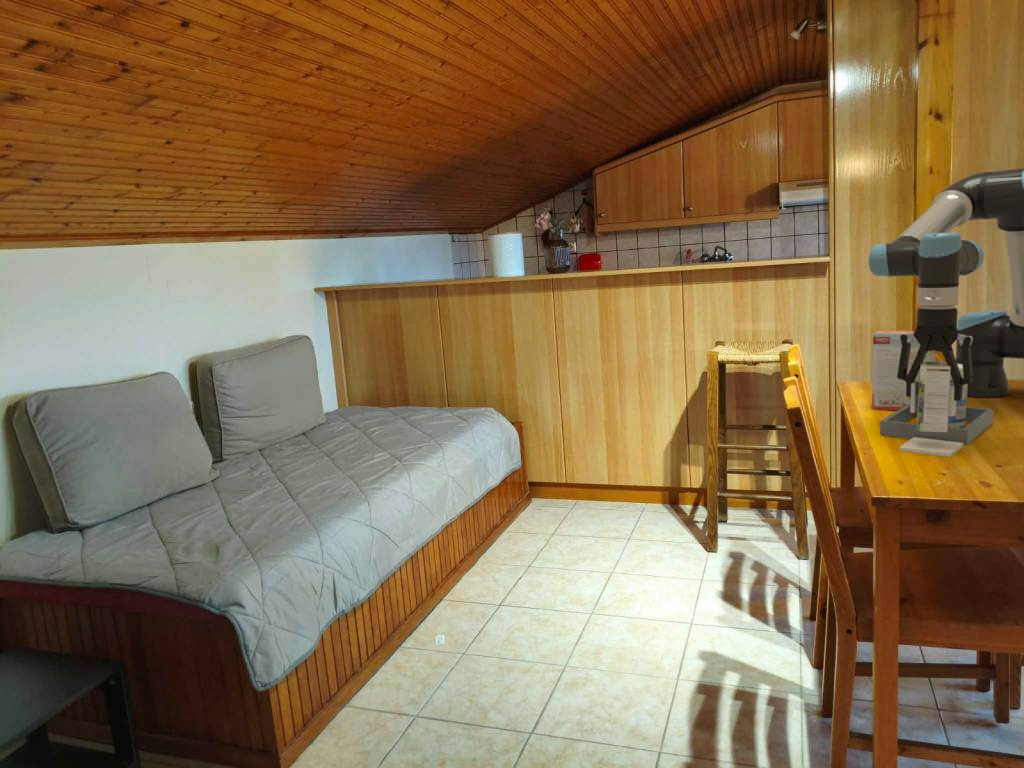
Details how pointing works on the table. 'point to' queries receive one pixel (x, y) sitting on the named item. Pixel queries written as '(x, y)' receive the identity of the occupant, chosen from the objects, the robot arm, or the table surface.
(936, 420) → the syrup box
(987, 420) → the bin
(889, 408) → the cracker box
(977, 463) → the table surface
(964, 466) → the table surface
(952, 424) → the supplement tub
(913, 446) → the board
